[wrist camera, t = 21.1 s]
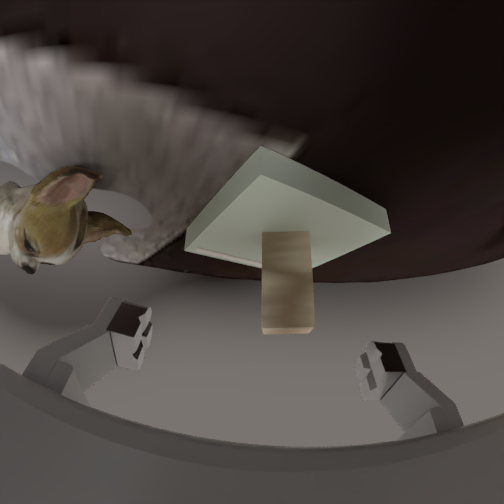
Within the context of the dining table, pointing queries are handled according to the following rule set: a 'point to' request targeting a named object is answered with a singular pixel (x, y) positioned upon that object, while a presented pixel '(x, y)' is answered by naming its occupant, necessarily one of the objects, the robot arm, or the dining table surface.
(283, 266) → the tan block
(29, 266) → the ceramic sculpture
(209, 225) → the sage board
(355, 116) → the dining table surface
